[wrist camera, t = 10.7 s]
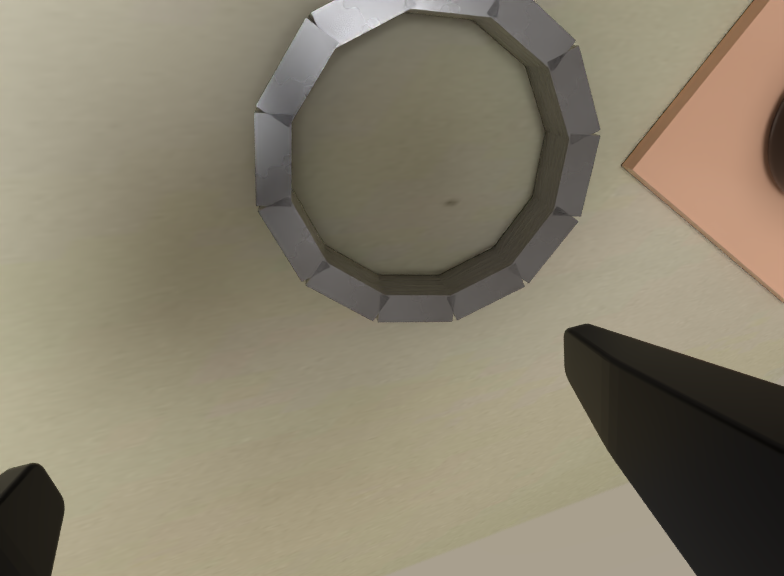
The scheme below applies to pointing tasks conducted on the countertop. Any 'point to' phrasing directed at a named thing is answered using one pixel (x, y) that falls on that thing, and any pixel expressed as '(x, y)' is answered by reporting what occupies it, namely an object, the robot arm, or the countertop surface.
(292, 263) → the collar
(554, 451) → the countertop surface
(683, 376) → the robot arm
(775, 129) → the supplement bottle
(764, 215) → the tile
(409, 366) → the countertop surface
